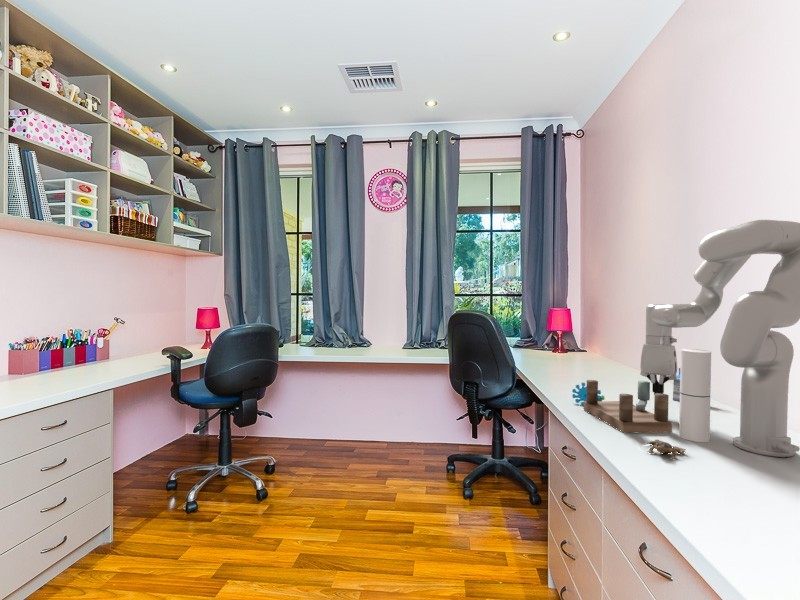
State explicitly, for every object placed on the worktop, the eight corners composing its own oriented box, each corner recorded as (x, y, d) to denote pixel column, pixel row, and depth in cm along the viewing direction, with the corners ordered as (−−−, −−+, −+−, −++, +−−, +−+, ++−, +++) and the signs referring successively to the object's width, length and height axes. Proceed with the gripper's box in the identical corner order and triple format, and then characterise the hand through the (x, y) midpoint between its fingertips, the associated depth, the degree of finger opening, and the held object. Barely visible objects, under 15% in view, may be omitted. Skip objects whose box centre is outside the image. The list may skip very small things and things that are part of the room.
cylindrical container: (680, 439, 120) (682, 351, 119) (677, 432, 126) (679, 348, 125) (711, 443, 116) (713, 353, 116) (707, 435, 123) (708, 350, 122)
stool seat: (671, 432, 126) (672, 396, 126) (623, 432, 125) (623, 396, 125) (624, 409, 150) (625, 379, 150) (583, 410, 149) (583, 379, 149)
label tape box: (672, 400, 164) (672, 368, 163) (678, 398, 165) (678, 367, 165) (697, 405, 156) (697, 372, 156) (703, 404, 158) (703, 371, 157)
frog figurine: (689, 467, 102) (690, 451, 102) (633, 454, 109) (634, 440, 109) (695, 453, 110) (696, 439, 110) (643, 442, 118) (643, 429, 118)
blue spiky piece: (568, 399, 157) (576, 378, 162) (569, 408, 161) (577, 386, 166) (599, 408, 150) (607, 386, 155) (600, 417, 154) (608, 395, 159)
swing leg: (646, 411, 136) (646, 388, 136) (633, 410, 138) (634, 387, 138) (650, 403, 146) (650, 381, 146) (638, 401, 148) (638, 380, 148)
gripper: (687, 341, 140) (687, 397, 140) (638, 338, 151) (637, 389, 151) (681, 343, 135) (680, 401, 135) (630, 339, 146) (630, 393, 146)
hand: (658, 394), depth 143 cm, fingers closed
